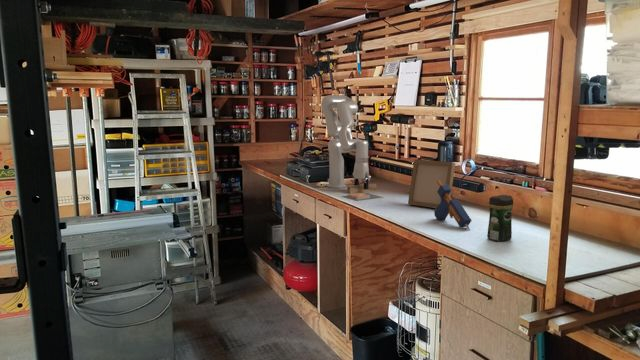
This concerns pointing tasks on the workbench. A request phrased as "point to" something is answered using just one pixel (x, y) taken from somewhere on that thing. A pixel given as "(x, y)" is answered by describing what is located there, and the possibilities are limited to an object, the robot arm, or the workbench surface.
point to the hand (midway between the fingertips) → (361, 188)
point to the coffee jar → (500, 218)
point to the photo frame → (429, 182)
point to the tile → (358, 196)
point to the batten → (360, 188)
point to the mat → (364, 198)
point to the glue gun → (450, 207)
